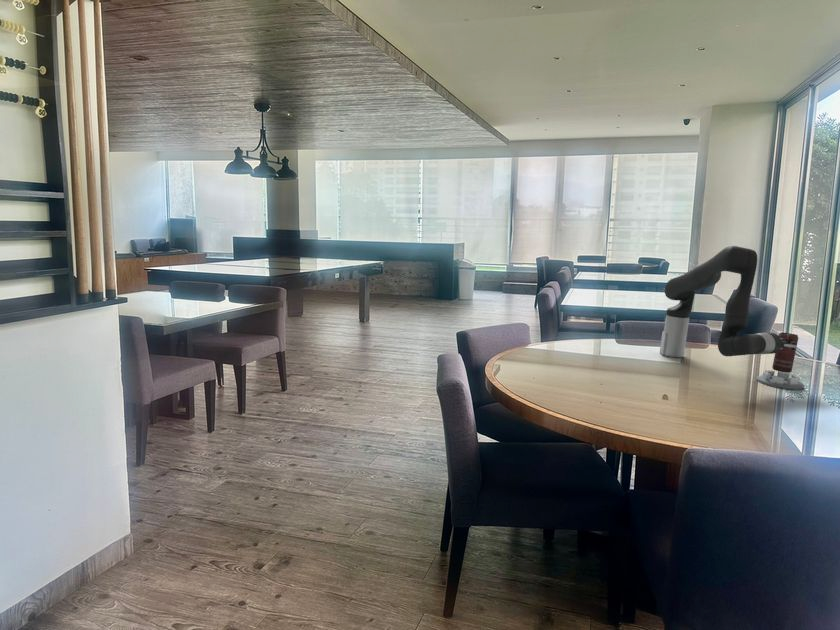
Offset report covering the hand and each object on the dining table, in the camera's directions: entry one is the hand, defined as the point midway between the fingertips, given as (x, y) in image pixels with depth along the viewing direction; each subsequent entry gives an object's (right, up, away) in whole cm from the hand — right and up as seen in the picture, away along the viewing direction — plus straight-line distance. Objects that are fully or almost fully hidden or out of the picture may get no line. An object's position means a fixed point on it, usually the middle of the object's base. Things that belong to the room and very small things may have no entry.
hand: (791, 341), depth 212 cm
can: (-4, -11, 0) cm, 12 cm away
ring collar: (-4, -16, +1) cm, 16 cm away
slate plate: (-4, -16, +1) cm, 16 cm away
